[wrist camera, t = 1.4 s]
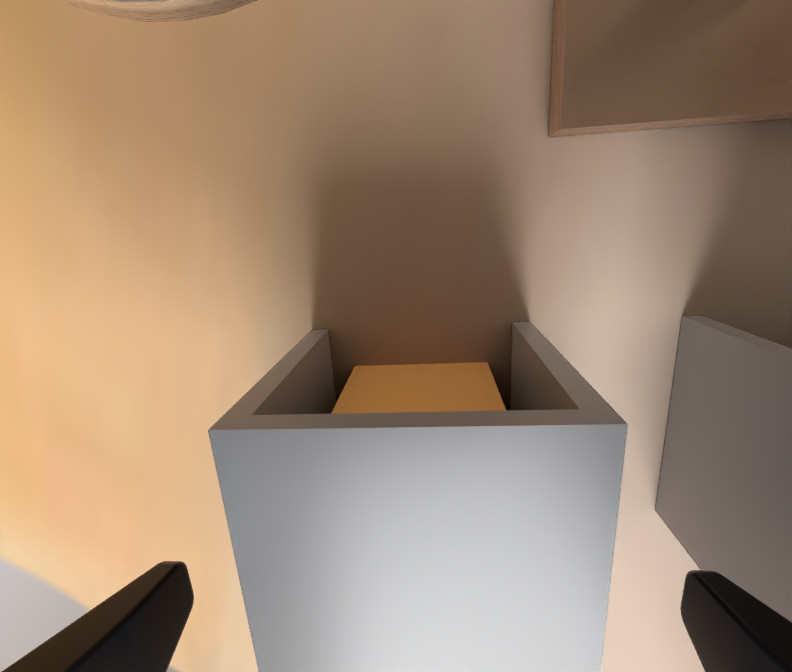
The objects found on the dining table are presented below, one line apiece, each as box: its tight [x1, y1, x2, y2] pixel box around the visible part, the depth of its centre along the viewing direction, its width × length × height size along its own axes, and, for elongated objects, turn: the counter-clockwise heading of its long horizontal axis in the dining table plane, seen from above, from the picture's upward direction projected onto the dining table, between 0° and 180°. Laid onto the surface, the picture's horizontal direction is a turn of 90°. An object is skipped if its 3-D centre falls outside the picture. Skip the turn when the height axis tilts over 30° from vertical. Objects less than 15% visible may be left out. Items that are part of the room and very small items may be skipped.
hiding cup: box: [208, 322, 628, 672], centre depth 10 cm, size 6×6×6 cm
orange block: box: [331, 362, 506, 414], centre depth 11 cm, size 4×4×4 cm
